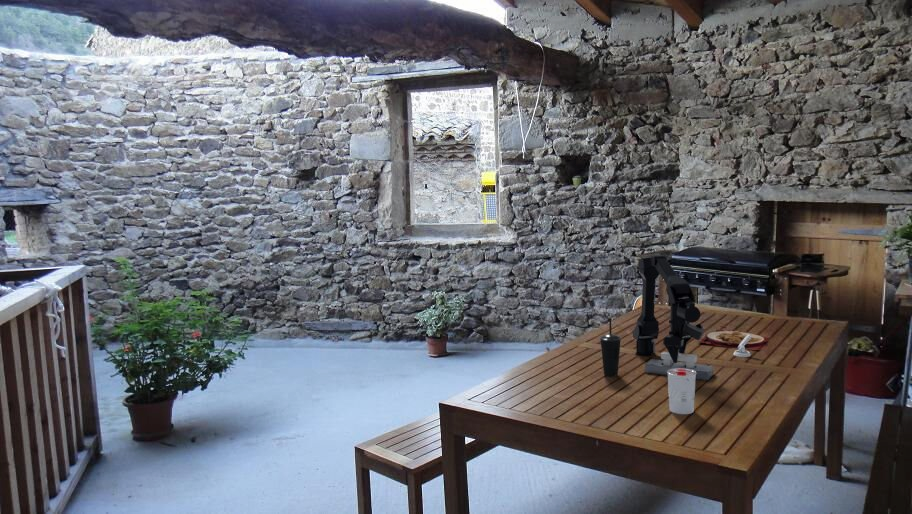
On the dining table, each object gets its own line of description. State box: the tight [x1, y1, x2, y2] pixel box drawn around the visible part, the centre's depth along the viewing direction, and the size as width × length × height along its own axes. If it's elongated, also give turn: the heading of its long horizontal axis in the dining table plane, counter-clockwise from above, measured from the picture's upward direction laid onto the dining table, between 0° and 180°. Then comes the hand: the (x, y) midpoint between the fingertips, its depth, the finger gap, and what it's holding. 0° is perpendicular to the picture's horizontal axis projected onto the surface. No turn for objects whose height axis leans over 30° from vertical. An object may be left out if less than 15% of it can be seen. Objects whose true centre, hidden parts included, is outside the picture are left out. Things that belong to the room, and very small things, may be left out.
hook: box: [733, 334, 751, 358], centre depth 261 cm, size 6×10×6 cm
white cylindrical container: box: [667, 368, 696, 415], centre depth 201 cm, size 10×8×12 cm
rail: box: [644, 358, 714, 381], centre depth 240 cm, size 22×8×3 cm, turn 57°
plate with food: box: [697, 325, 770, 351], centre depth 284 cm, size 25×26×4 cm
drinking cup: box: [599, 319, 622, 377], centre depth 241 cm, size 8×8×20 cm
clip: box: [660, 351, 698, 369], centre depth 240 cm, size 12×3×7 cm, turn 57°
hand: (678, 359), depth 240 cm, fingers open, 9 cm apart
